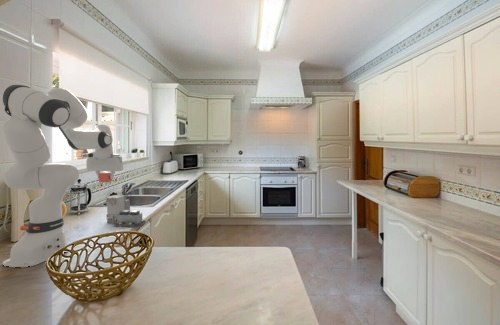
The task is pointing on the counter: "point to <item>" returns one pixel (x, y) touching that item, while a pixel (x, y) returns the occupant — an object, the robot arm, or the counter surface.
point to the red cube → (104, 177)
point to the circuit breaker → (116, 206)
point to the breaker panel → (129, 220)
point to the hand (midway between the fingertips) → (105, 178)
